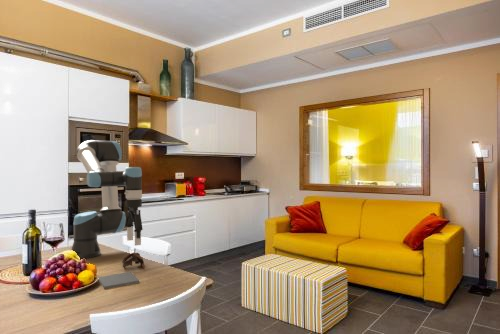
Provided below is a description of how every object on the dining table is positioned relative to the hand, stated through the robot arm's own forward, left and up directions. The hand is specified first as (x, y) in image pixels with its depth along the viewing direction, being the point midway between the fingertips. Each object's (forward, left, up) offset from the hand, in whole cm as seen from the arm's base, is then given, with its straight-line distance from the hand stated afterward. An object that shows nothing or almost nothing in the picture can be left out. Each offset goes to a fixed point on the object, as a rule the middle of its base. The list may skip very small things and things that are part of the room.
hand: (133, 242), depth 168 cm
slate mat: (+17, -11, -12) cm, 23 cm away
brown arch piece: (0, 0, -12) cm, 12 cm away
